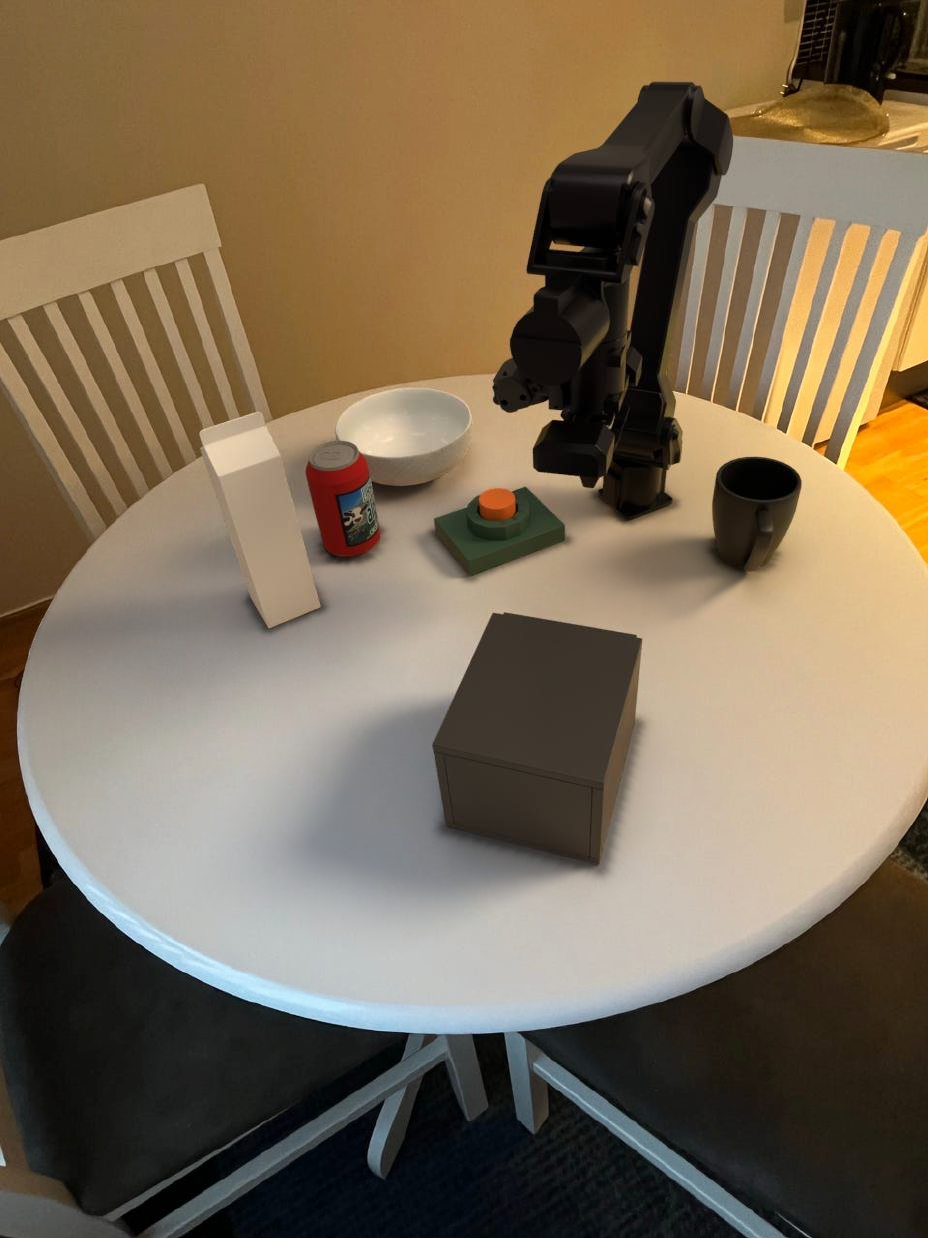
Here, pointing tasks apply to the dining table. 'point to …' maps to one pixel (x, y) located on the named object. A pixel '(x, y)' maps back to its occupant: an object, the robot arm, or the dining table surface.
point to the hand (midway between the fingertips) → (589, 485)
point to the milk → (260, 517)
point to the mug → (753, 509)
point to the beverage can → (343, 498)
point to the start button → (497, 504)
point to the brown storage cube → (540, 735)
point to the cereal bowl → (408, 434)
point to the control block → (498, 533)
